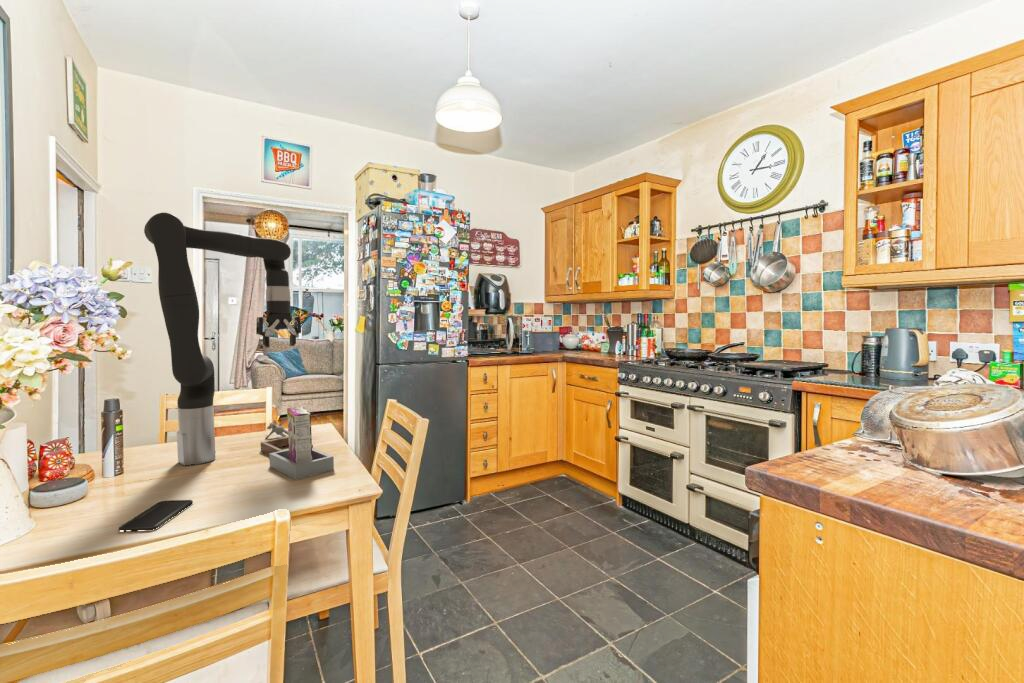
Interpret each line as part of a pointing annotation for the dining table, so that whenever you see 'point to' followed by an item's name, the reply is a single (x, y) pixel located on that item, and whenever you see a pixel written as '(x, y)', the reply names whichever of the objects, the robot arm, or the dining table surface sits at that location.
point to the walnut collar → (274, 445)
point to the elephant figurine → (277, 429)
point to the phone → (156, 515)
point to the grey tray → (301, 464)
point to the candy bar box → (299, 435)
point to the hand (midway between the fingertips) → (279, 346)
